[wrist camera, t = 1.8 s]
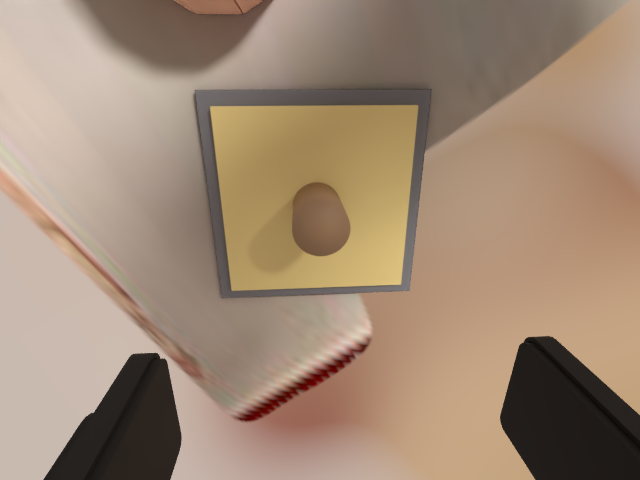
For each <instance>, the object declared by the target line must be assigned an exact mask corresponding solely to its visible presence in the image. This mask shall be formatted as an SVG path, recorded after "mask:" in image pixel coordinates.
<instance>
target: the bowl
mask: <svg viewBox="0 0 640 480" xmlns="http://www.w3.org/2000/svg"><path fill="white" fill-rule="evenodd" d="M174 1H175V2H177V3H178V4H180V5H182V6H183V7H185V8H186V9H188V10H190V11H191V12H193V13H195V14H243V13H244V14H245V13H246V12H247V11H249V10H250V9H252V8H253V7H255V6H256V5H257V4H259V3H260V2H262V1H263V0H174ZM242 11H243V13H242Z"/></svg>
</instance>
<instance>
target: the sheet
mask: <svg viewBox="0 0 640 480" xmlns="http://www.w3.org/2000/svg"><path fill="white" fill-rule="evenodd" d="M210 111H211V119H212V128H213V136H214V145H215V153H216V162H217V170H218V179H219V187H220V196H221V204H222V213H223V221H224V230H225V238H226V247H227V255H228V264H229V272H230V281H231V289H232V291H241V290H268V289H295V288H322V287H349V286H377V285H401V280H402V269H403V259H404V249H405V238H406V228H407V218H408V208H409V197H410V187H411V177H412V167H413V156H414V146H415V136H416V125H417V115H418V105H329V106H210Z"/></svg>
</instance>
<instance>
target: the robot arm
mask: <svg viewBox="0 0 640 480" xmlns="http://www.w3.org/2000/svg"><path fill="white" fill-rule="evenodd" d="M500 420H501V425H502V428H503V430H504V431H505V433H506V435H507V436H508V438H509V439H510V441H511V442H512V444H513V445H514V447H515V449H516V450H517V452H518V453H519V455H520V456H521V458H522V459H523V461H524V462H525V464H526V465H527V467H528V469H529V470H530V472H531V473H532V475H533V476H534V478H535V480H640V415H639V414H638V413H637V412H635V411H634V410H633V409H632V408H631V407H630V406H629V405H628V404H627V403H625V402H624V401H623V400H622V399H621V398H620V397H619V396H618V395H617V394H616V393H614V392H613V391H612V390H611V389H610V388H609V387H608V386H607V385H606V384H604V383H603V382H602V381H601V380H600V379H599V378H598V377H597V376H596V375H595V374H593V373H592V372H591V371H590V370H589V369H588V368H587V367H586V366H585V365H583V364H582V363H581V362H580V361H579V360H578V359H577V358H575V357H574V356H573V355H572V354H571V353H570V352H569V351H568V350H567V349H566V348H565V347H564V346H562V345H561V344H560V343H559V342H558V341H557V340H556V339H554V338H553V337H549V336H545V337H528V338H526V339H525V341H524V343H522V344H520V346H519V349H518V352H517V356H516V360H515V363H514V367H513V371H512V375H511V378H510V382H509V385H508V389H507V393H506V396H505V400H504V404H503V408H502V411H501V416H500ZM180 446H181V431H180V426H179V420H178V415H177V411H176V405H175V400H174V395H173V390H172V385H171V380H170V375H169V369H168V364H167V361H166V360H165V359H160V356H159V355H158V353H145V354H133V355H131V356H130V357H129V359H128V360H127V362H126V364H125V365H124V366H123V368H122V370H121V371H120V373H119V374H118V376H117V378H116V379H115V381H114V382H113V384H112V385H111V387H110V389H109V390H108V392H107V393H106V395H105V396H104V398H103V400H102V401H101V403H100V404H99V406H98V407H97V409H96V410H95V412H94V413H91V414H89V415H88V416H86V417H85V419H84V420H83V421H82V422H81V424H80V425H79V427H78V428H77V430H76V431H75V433H74V434H73V436H72V437H71V439H70V440H69V442H68V443H67V445H66V446H65V448H64V449H63V451H62V452H61V454H60V455H59V457H58V458H57V460H56V461H55V463H54V465H53V466H52V468H51V469H50V471H49V472H48V474H47V475H46V477H45V478H44V480H170V479H171V475H172V472H173V469H174V466H175V463H176V460H177V457H178V454H179V451H180Z"/></svg>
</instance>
